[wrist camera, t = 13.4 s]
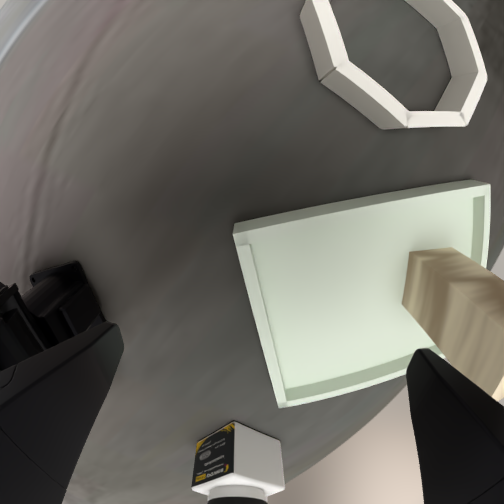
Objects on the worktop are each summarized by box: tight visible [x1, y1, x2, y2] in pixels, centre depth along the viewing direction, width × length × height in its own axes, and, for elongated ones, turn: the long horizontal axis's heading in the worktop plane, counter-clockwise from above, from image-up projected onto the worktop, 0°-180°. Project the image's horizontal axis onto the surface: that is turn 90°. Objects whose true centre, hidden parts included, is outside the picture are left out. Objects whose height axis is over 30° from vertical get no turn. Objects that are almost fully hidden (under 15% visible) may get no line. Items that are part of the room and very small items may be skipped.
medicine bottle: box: [192, 421, 285, 504], centre depth 22 cm, size 7×7×12 cm
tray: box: [233, 179, 490, 408], centre depth 20 cm, size 20×16×2 cm
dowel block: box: [402, 247, 504, 401], centre depth 14 cm, size 4×4×12 cm
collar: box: [299, 0, 487, 130], centre depth 13 cm, size 13×13×4 cm
